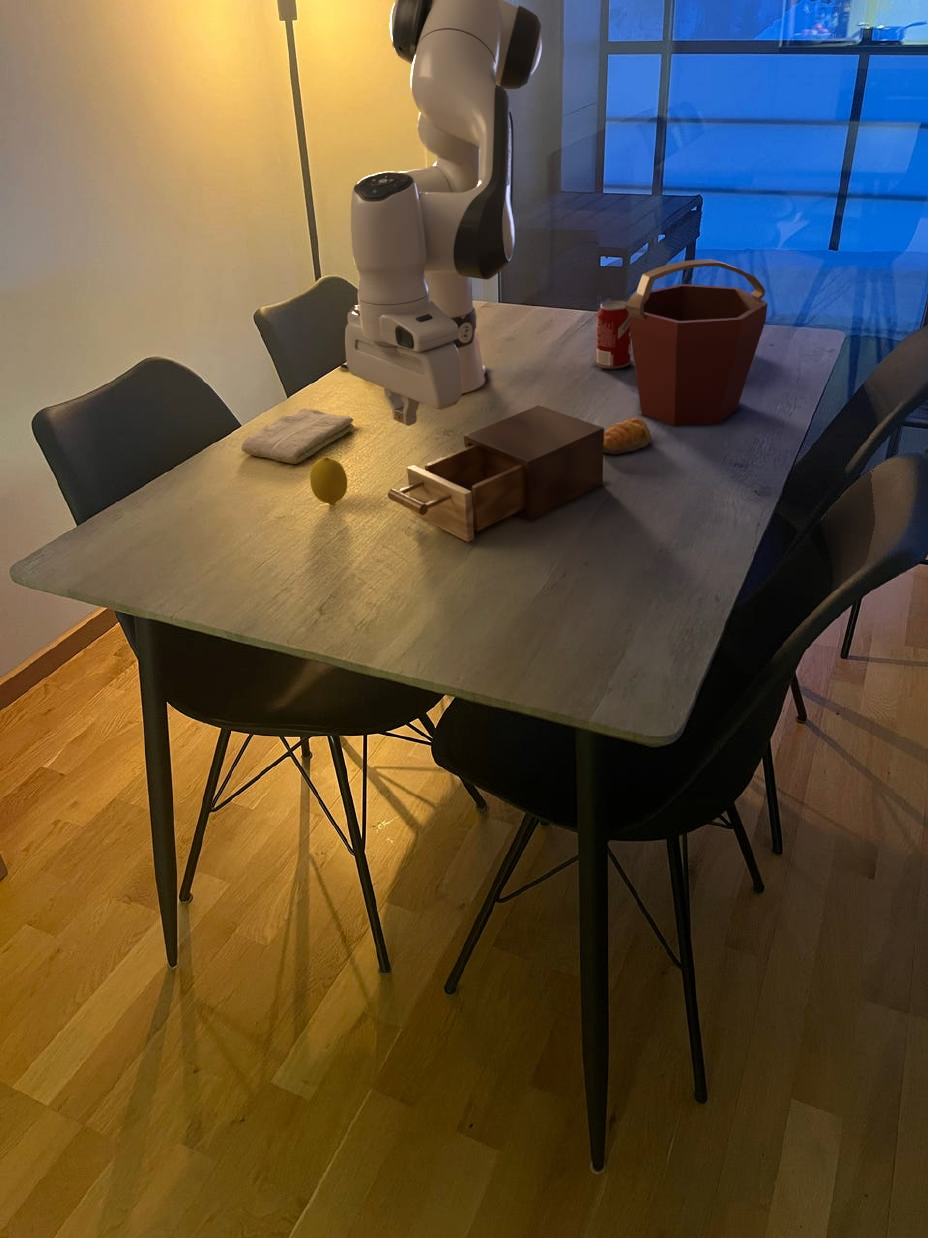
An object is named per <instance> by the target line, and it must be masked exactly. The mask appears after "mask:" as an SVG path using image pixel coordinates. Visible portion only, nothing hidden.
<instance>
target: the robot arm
mask: <svg viewBox="0 0 928 1238" xmlns="http://www.w3.org/2000/svg"><path fill="white" fill-rule="evenodd" d="M391 9H392V10H391V12H390V13H391V14H390V18H389V19H390V22H389V29H390V36H391V44H392V45H391V46H392V48H393V50H394V51H395V53H396V55H397V56H398V57H399V58H400V59H402V60H403V61H405V62H407V63H408V64H411V65H412V66H411V71H410V72H411V73H410V92H411V95H412V99H413V101H414V103H415V106H416V108H417V110H418V117H417V125H416V128H417V134H418V137H419V139H420V142H421V143H422V145H423V146H424V148H425V149H426V150H427V151H428V152H429V153H431V154H432V155H433V156H435V157H436V161H435V163H434V164H433V165H431V166H428V167H421V168H415V169H410V170H404V171H382V172H377V173H375V174H372V175H371V174H370V175H368V176H367V175H366V176H365V177H363V178H361V179H360V180H359V181H358V182H357V183H356V184H354V186H353V188H352V191H351V199H350V237H351V248H352V258H353V263H354V267H355V268H356V271H357V275H358V288H357V302H358V304H357V305H353V306H352V307H351V308H350V309H349V312H348V313H347V325H346V326H345V330H344V331H345V333H344V338H345V339H344V346H345V363H346V364H345V363H340V368H343V369H347V370H348V371H349V373H350V374H351V376H354V377H356V378H359V379H361V380H364V381H366V382H369V383H370V384H374V385H376V386H379V387H381V388H383V389H384V396H385V398H386V400H387V402H388V404H389V406H390V408H391V410H392V411H391V413H392V419H393V421H396V422H398V423H401V424H403V425H405V426H408V427H410V426H412V425H415V424H416V423H417V421H418V417H417V410H418V408H419V406H420V404H423V405H425V406H426V407H429V408H431V409H432V408H433V409H434V410H436V411H437V410H438V411H440V410H444V409H446V408H449V407H452V406H454V405H456V404H458V402H459V401H460V399H461V397H462V394H465V393H469V392H472V391H475V390H477V389H479V388H480V387H482V386H483V385H484V384H485V382H486V377H485V373H486V372H487V368H486V365H485V364H483V360H482V352H481V346H480V345H481V344H480V338H479V333H478V332H477V331H476V329H477V319H478V318H477V314H476V308H475V307H474V301H473V299H474V297H473V281H472V279H479V280H491V279H492V278H493V277H495V276H496V275H497V274H498V273H500V272H501V271H503V269H504V268H505V267H507V266H508V264H509V263H510V262H511V261H512V259H513V253H514V250H515V242H516V241H515V240H516V229H515V221H514V210H513V209H514V207H513V206H514V204H513V203H514V201H513V199H514V196H513V194H514V159H515V158H514V155H515V154H514V152H515V151H514V149H515V147H514V144H515V143H514V117H513V110H512V105H511V101H510V98H509V95H508V93H507V90H519V89H521V88H522V87H524V86H525V85H527V84H528V82H529V80H530V78H531V77H532V76H533V74H534V73H535V71H536V70H537V67H538V65H539V63H540V60H541V56H542V51H543V50H542V49H543V36H542V35H543V34H542V30H541V29H542V24H541V22H540V19H539V17H538V15H537V14H535V13H534V12H533V11H531V10H530V9H528V8H526V7H524V6H522V5H521V4H520V5H518V7H517V6H515V5H513V4H511V3H510V2H507V1H504V0H395V1H394V3H393V6H392V8H391Z"/></svg>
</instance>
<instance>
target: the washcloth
mask: <svg viewBox="0 0 928 1238" xmlns="http://www.w3.org/2000/svg"><path fill="white" fill-rule="evenodd" d="M353 421H354V419H353V418H352V417H351V416H349V415H339V414H337V415H336V414H331V413H327V412H324V411H320V410H319V409H309V408H301V409H299V410H297V412H294V413H292V414H290V415H282V416H280V417H279V418H278V419H276V420H275V421H274V422H272V423H270V424H268V425H266V426H265V427H262V428H261V429H260V430H258V431H257V432H255V433H254V434H251V435H249V436H247V438H246V439H245V440H244V441H243V443H241V451H242V452H243V453H245V454H247V455H251V456H255V457H260V458H267V459H269V460H273V461H275V462H283V463H286V464H294V465H297V464H299V463H301V462H303V461H304V460H306V459H308V458H310V457H311V456H312V455H314V454H315V453H316V452H319V450H321V449H322V448H324V447H326V446H327V445H330V444H331V443H333V442H335V441H336V440H338V439H340V438H342V437H343V436H344V435H346V434H347V433H349V432H351V433H352V431H353V430H354V428H355V426H354V424H352V423H353Z"/></svg>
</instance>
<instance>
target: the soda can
mask: <svg viewBox="0 0 928 1238" xmlns="http://www.w3.org/2000/svg"><path fill="white" fill-rule="evenodd" d="M626 303H627V301H624V300H608V301H604V302H602V303H600V309H599V310H598V311H597V313H596V344H595V363H596V364H597V366H599V367H600V368H602V369H605V370H620V369H623V368H625V367H627V366H628V365H629V364H630V363H631V356H632V355H631V353H632V351H631V350H632V342H631V335H630V315H629V313H628V311H627V309H626V307H625V304H626Z"/></svg>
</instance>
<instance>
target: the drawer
mask: <svg viewBox="0 0 928 1238" xmlns="http://www.w3.org/2000/svg"><path fill="white" fill-rule="evenodd" d="M406 471H407V480H408V481H407V482H408V485H407V486H404V487H403V488H400V489H396V488H394V487H393V488H391V489H389V491H388V493H387V498H388V499H389V500H391V501H392V502H395V503H397V504H399V505H401V506H402V507H404V508H407V509H409V510H410V512H411V514H412V515H414V516H415V517H416V516H417V517H418V518H420V519H423V520H424V521H426V522H428V523H430V524H432V525H434V526H436V527H438V528H440V529H442V530H444V531H446V532H448V533H449V534H452V535H453V536H455V537H457V538H459V539H461V540H463V541H465V542H467V543H469V542H470V541H473V540H475V532H474V530H475V531H476V532H479V531H481V530H483V529H486V528H487V527H489V526H491V525H493V524H495V523H497V522H500V521H502V520H504V519H505V518H508V517H511V516H512V515H514V514H516V512H518V511H520V510H522V509H524V508H526V503H525V466H524V465H522V464H519V463H517V462H514V461H512V460H510V459H507V458H505V457H502V456H500V455H497V454H495V453H492V452H490V451H488V450H485V449H483V448H480V447H478V446H475V445H471V446H469V447H466V448H465V447H464V448H462V449H460V450H456V451H454V452H452V453H450V454H447V455H445V456H443V457H440V458H437V459H435V460H433V461H430V462H428V463H426V464H424V469H423V468H421V467H419V466H417V465H415V464H412V465H409V466H407V467H406ZM407 493H409V494H407Z"/></svg>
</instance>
